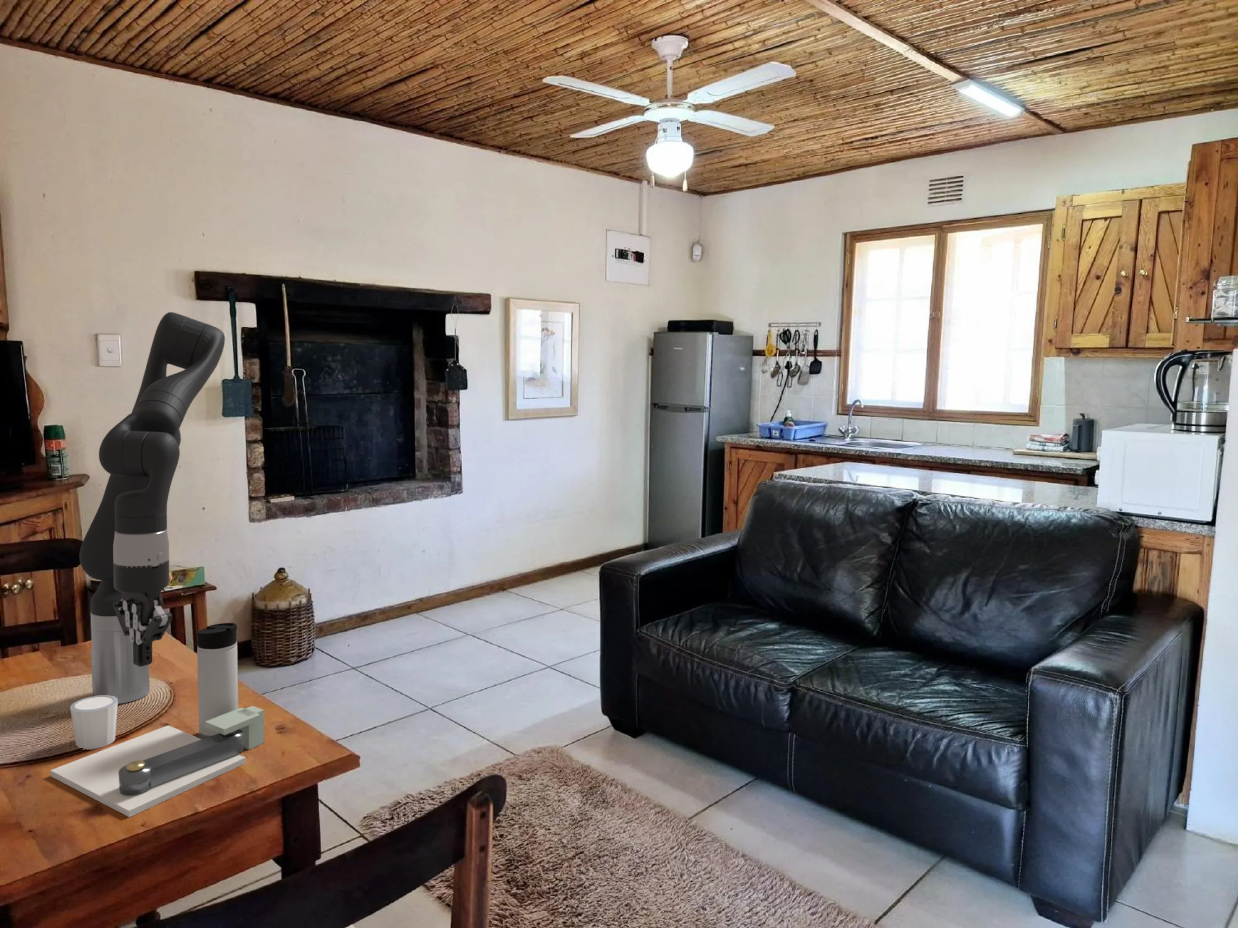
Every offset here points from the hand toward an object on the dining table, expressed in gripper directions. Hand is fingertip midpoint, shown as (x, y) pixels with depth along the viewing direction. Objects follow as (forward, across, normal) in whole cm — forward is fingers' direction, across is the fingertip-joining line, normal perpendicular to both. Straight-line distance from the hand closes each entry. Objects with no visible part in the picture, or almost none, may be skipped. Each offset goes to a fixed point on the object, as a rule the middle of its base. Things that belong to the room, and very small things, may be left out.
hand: (142, 664), depth 129 cm
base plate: (+17, +2, 0) cm, 17 cm away
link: (+16, +8, +2) cm, 18 cm away
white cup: (+18, -15, 0) cm, 23 cm away
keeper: (+17, +7, +12) cm, 22 cm away
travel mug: (+17, -1, +14) cm, 22 cm away
